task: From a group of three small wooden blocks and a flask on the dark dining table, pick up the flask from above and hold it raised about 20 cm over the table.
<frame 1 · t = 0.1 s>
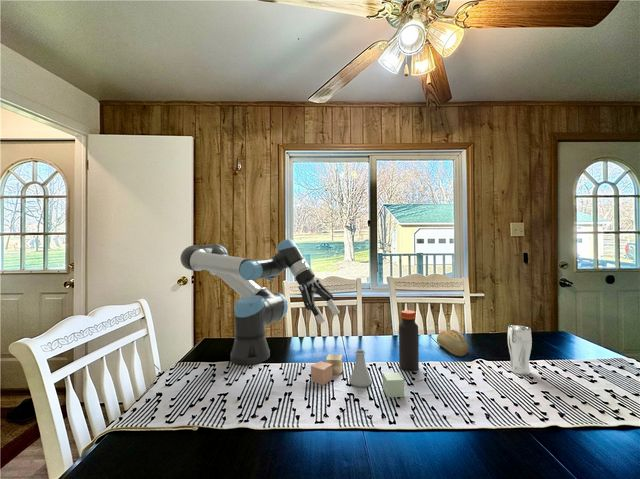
hand: (330, 318, 118), 15 cm above the table, tool tilted 35°, fingers open, 13 cm apart
maple block: (334, 371, 106), on the table
bottle: (408, 367, 108), on the table
flask: (360, 383, 97), on the table
beer glass: (519, 371, 104), on the table
sage block: (393, 392, 90), on the table
bread roll: (452, 351, 123), on the table
terracotta block: (321, 380, 99), on the table
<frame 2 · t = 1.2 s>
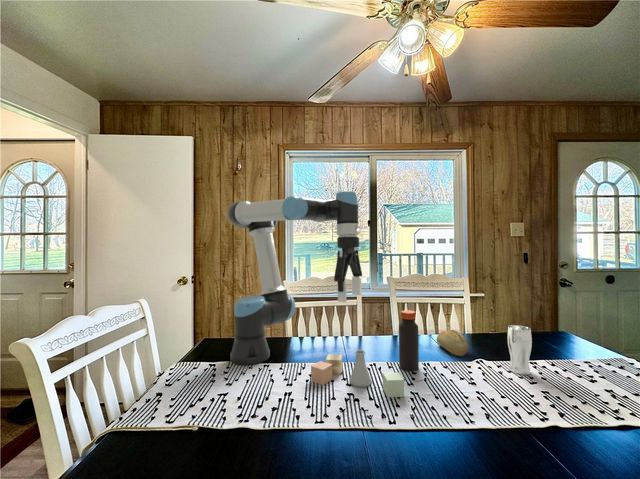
hand: (349, 298, 103), 26 cm above the table, tool pointing down, fingers open, 13 cm apart
nothing on the table moved.
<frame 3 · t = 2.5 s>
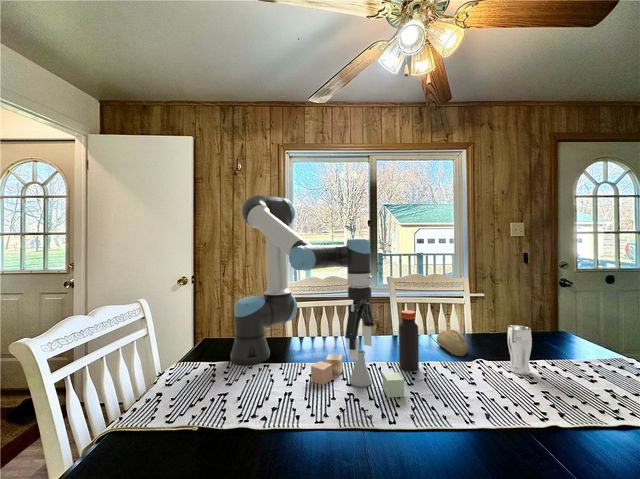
hand: (361, 352, 97), 10 cm above the table, tool pointing down, fingers open, 13 cm apart
nothing on the table moved.
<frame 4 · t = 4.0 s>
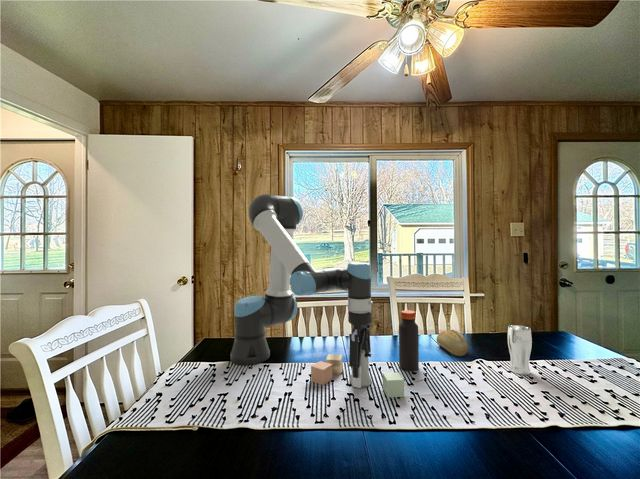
hand: (360, 381, 97), 0 cm above the table, tool pointing down, fingers closed on flask, 7 cm apart
flask: (360, 382, 97), on the table, touching gripper
everything else where it was.
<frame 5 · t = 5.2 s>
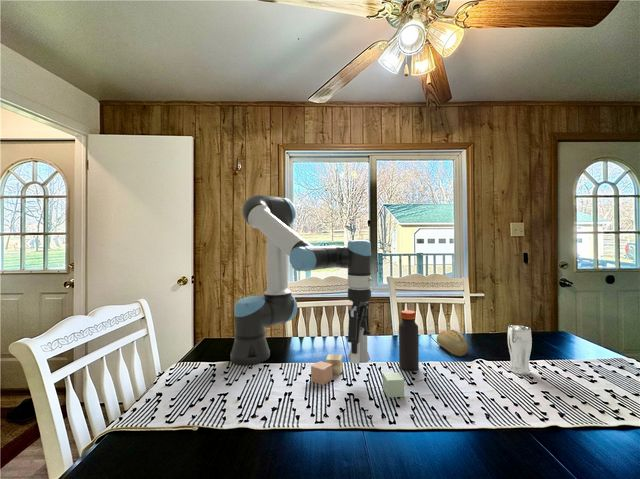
hand: (359, 358, 97), 8 cm above the table, tool pointing down, fingers closed on flask, 7 cm apart
flask: (359, 359, 97), point 7 cm above the table, touching gripper
everything else where it was.
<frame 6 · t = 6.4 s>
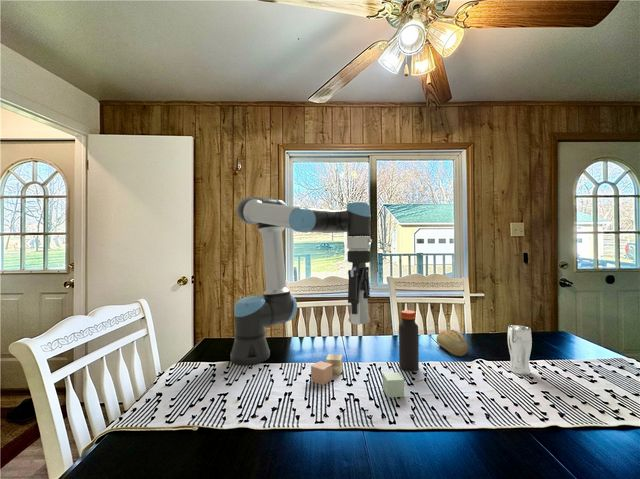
hand: (359, 320, 97), 20 cm above the table, tool pointing down, fingers closed on flask, 7 cm apart
flask: (359, 322, 97), point 19 cm above the table, touching gripper
everything else where it was.
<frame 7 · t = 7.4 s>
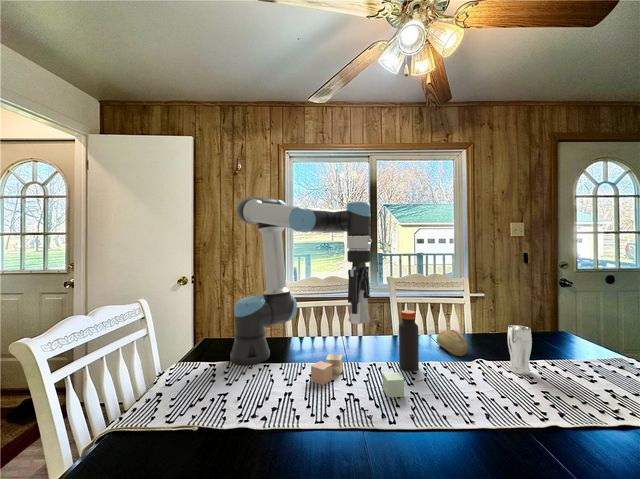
hand: (359, 320, 97), 20 cm above the table, tool pointing down, fingers closed on flask, 7 cm apart
flask: (359, 321, 97), point 19 cm above the table, touching gripper
everything else where it was.
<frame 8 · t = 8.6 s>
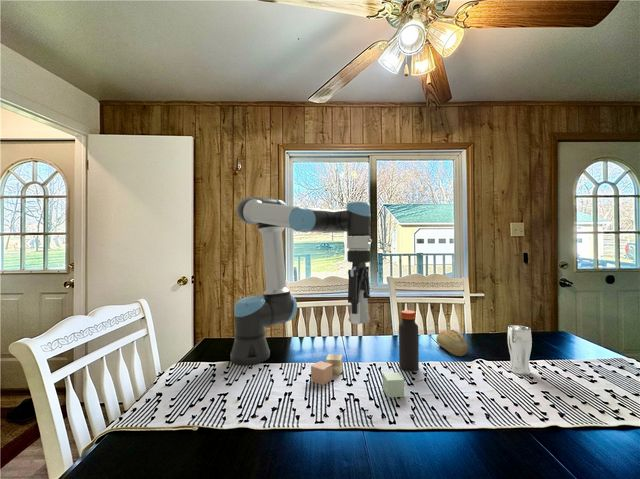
hand: (359, 320, 97), 20 cm above the table, tool pointing down, fingers closed on flask, 7 cm apart
flask: (359, 321, 97), point 19 cm above the table, touching gripper
everything else where it was.
at the end: the gripper is holding flask; flask point 19.5 cm above the table; maple block moved 0.1 cm from its start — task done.
